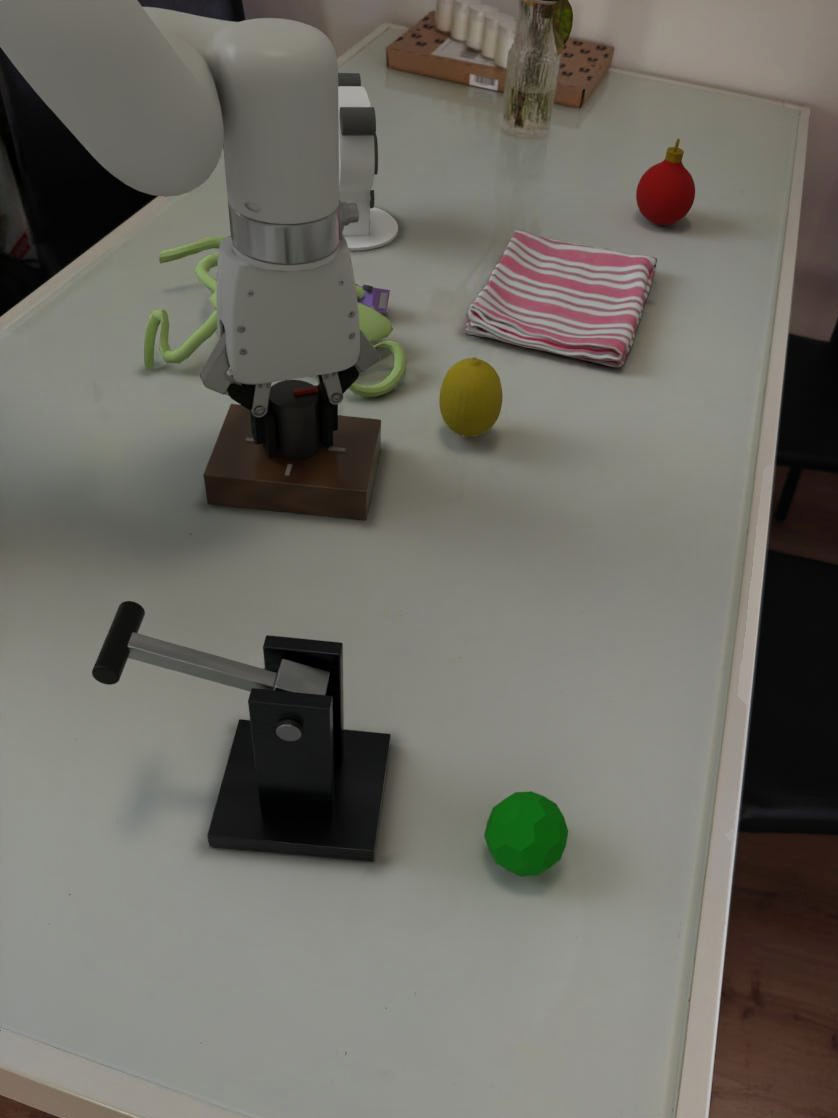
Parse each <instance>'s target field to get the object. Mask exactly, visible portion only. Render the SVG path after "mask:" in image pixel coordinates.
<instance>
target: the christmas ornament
mask: <svg viewBox="0 0 838 1118" xmlns="http://www.w3.org/2000/svg"><path fill="white" fill-rule="evenodd" d="M679 146H680V138H676V140H675V144H674V146H670V147H669V146H668V147H667V148H666V152H665V153H666V154H665V158H664V159H663V160H662V161H661V162H658V163H656V164H653V165H652V166H650V167H649V168H648V169H647V170H645V172H644V173H643V174H642V175H641V177H640V179H639V180H638V183H637V186H636V192H635V200H636V204H637V208H638V210H639V212H640V213H641V215H642V216H643V217H644V218H645V219H646V220H647V221H648V222H650V223H652V224H654V225H657V226H670V225H673V224H675V223H678V222H679V221H681V220H683V218H684V217H686V216H687V214H688V213H689V212H690V211H691V209H692V207H693V205H694V202H695V199H696V185H695V181H694V178H693V176H692V174H691V172H689V170H688V169H687V168H686V167H685V166H684V164H683V156H684V154H685V151H684V149H682V148H680V147H679Z"/></svg>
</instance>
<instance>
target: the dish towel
mask: <svg viewBox="0 0 838 1118" xmlns="http://www.w3.org/2000/svg"><path fill="white" fill-rule="evenodd" d="M657 264H658V258H657V257H654V256H650V255H643V254H642V255H640V254H639V255H637V254H630V253H627V252H624V251H619V250H613V249H610V248H603V247H601V248H600V247H598V246H597V247H596V246H593V245H589V244H588V245H587V244H581V243H580V244H579V243H573V242H568V241H564V240H557V239H551V238H548V237H545V236H543V235H538V234H536V233H533V232H530V231H526V230H519V229H516V230H514V234H513V236H512V237H511V238H510V241H509V242H508V243H507V246H506V249H505V250H504V252H503V256H502V257H501V259H500V261H499V262H498V263H497V264H496V265H495V267H494V269H493V270H492V271H491V275H490V276H489V278H488V282H487V285H485V287H483V288H482V290H481V291H480V292H479V293H478V295H477V297H476V298H475V299H474V301H473V302H472V303H470V306H469V309H468V311H467V313H466V318H467V319H468V320H467V321H466V328H465V329H464V332H465V334H467V335H470V336H472V335H473V336H476V337H480V338H489V339H492V340H496V341H499V342H503V343H507V344H511V345H515V346H520V347H523V348H527V349H534V350H537V351H543V352H547V353H551V354H555V355H560V356H564V357H567V358H568V357H569V358H573V359H578V360H581V361H586V362H591V363H595V364H600V365H603V366H608V367H612V368H620V367H622V366H623V365H624V364H625V361H626V355H627V354H628V353H629V351H630V349H631V348H632V346H633V344H634V340H635V338H636V337H635V336H636V335H635V333H636V330H637V327H638V326H639V323H640V321H641V318H642V316H643V314H642V313H643V312H644V305H645V303H646V302H645V301H646V300H647V298H648V295H649V293H650V291H651V287H652V281H653V277H654V274H655V273H656V271H657Z"/></svg>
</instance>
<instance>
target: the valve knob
mask: <svg viewBox="0 0 838 1118" xmlns="http://www.w3.org/2000/svg"><path fill="white" fill-rule="evenodd" d="M317 385H318V384H317ZM317 385H316V384H315V385H314V384H312V383H311V382H308V381H305V380H301V379H290V380H283V381H277V382H275V383H274V384H273V385H271V391H270V397H269V403H268V404H269V407H270V409H271V411H272V413H273V415H274V418H275V431H276V447H277V455H279V456H280V457H283V458H286V459H291V460H301V459H306V458H309V457H311V456H313V455H315V454H316V453H317V452H318V451H319V449H320V412H319V392H318V387H317Z"/></svg>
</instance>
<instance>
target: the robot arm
mask: <svg viewBox="0 0 838 1118" xmlns="http://www.w3.org/2000/svg"><path fill="white" fill-rule="evenodd" d="M0 48H1V50H2V51H3V53H4V54H5V56H6V57H7V58H8V59H9V61H10V62H11V64H12V65H13V66H14V67H15V68H16V70H17V71H18V73H20V74H21V76H22V77H23V78H24V80H25V81H26V82H27V84H28V85H29V86H30V87H31V89H33V91H34V92H35V93H36V94H37V95H38V97H39V98H40V99H41V100H42V101H43V102H44V103H45V105H46V106H47V107H48V108H49V109H50V111H52V112H53V114H54V115H55V116H56V117H57V118H58V119H59V120H60V121H61V123H62V124H63V125H64V126H65V127H66V128H67V129H68V130H69V132H70V133H71V134H72V135H73V136H74V137H75V138H76V140H77V141H79V143H80V144H81V146H82V147H84V149H85V150H86V151H88V153H89V154H90V155H91V156H92V158H93V159H95V161H96V162H97V163H98V164H99V165H101V167H103V168H104V169H105V170H106V171H107V172H108V173H109V174H111V175H112V176H113V177H114V178H116V179H117V180H119V181H120V182H122V183H123V184H125V185H126V186H128V187H130V188H132V189H134V190H136V191H138V192H141V193H144V194H146V195H150V196H156V197H164V198H165V197H166V198H167V197H178V196H181V195H184V194H188V193H190V192H192V191H194V190H196V189H198V188H199V187H201V186H202V185H203V184H204V183H205V182H206V181H208V179H209V178H210V177H211V175H212V174H213V172H214V171H215V170H216V168H217V167H218V164H219V161H220V159H221V157H222V154H223V161H224V170H225V171H224V173H225V184H226V194H227V208H228V218H229V219H228V221H229V231H230V235H229V236H224V237H225V238H223V239H222V241H221V242H220V247H219V249H218V253H219V254H218V264H217V266H216V280H217V286H216V292H217V339H218V340H217V343H216V344H215V346H214V348H213V350H212V351H211V353H210V355H209V357H208V358H207V360H206V361H205V363H204V365H203V367H202V368H201V370H200V373H199V378H200V379H201V381H202V384H203V386H204V387H205V388H206V389H209V390H211V391H214V392H216V393H219V394H221V395H223V396H224V395H226V396H227V397H228V396H229V398H230V399H231V400H233V401H234V402H236V404H238V405H242V406H244V407H245V408H247V409H248V410H250V419H251V431H252V436H253V439H254V442H255V444H256V445H257V444H262V446H263V448H264V450H265V452H266V454H267V456H268V458H271V457H275V455H277V447H276V431H275V418H274V415H273V413H272V411H271V409H270V407H269V404H268V403H269V397H270V391H271V387H272V383H278V382H281V381H285V380H297V379H302V378H308V377H309V378H310V377H314V376H316V377H317V381H318V384H317V387H318V392H319V412H320V440H321V442H322V444H323V445H324V446H326V447H332V446H333V431H336V430H338V415H339V404H341V403H342V402H343V401H344V394H345V393H346V392H347V391H348V390H349V387H350V386H351V385H352V384H353V383H356V381H357V380H358V379H359V377H360V374H361V373H364V372H366V371H367V370H368V369H370V368H371V367H372V366H374V365H375V364H376V363H378V361H380V358H381V356H380V354H379V351H378V350H377V348H375V347H374V346H375V345H373V342H370V341H369V339H368V338H367V337H366V336H365V334H364V333H363V332H362V330H361V329H360V326H359V312H358V302H357V294H356V286H355V284H356V280H355V274H354V268H353V262H352V258H351V257H352V256H351V253H350V251H349V248H348V244H347V242H346V240H345V238H344V236H343V234H342V231H343V229H344V226H348V225H349V223H356V222H358V220H359V212H358V207H357V205H356V203H346V202H345V201H344V202H341V201H340V200H339V118H338V73H339V67H338V56H337V53H336V49H335V47H334V44H333V42H332V41H331V40H330V38H329V36H327V35H326V34H325V33H324V32H323V31H321V30H320V29H319V28H317V27H315V26H312V25H310V24H307V23H305V22H301V21H298V20H293V19H288V18H280V17H278V18H277V17H260V18H259V17H258V18H249V19H245V20H241V21H232V20H224V19H218V18H213V17H206V16H202V15H196V14H192V13H188V12H182V11H178V10H173V9H167V8H161V7H153V6H142V5H141V2H139V1H138V0H0ZM222 152H223V153H222ZM229 370H230V371H231V375H230V374H228V371H229Z"/></svg>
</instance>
